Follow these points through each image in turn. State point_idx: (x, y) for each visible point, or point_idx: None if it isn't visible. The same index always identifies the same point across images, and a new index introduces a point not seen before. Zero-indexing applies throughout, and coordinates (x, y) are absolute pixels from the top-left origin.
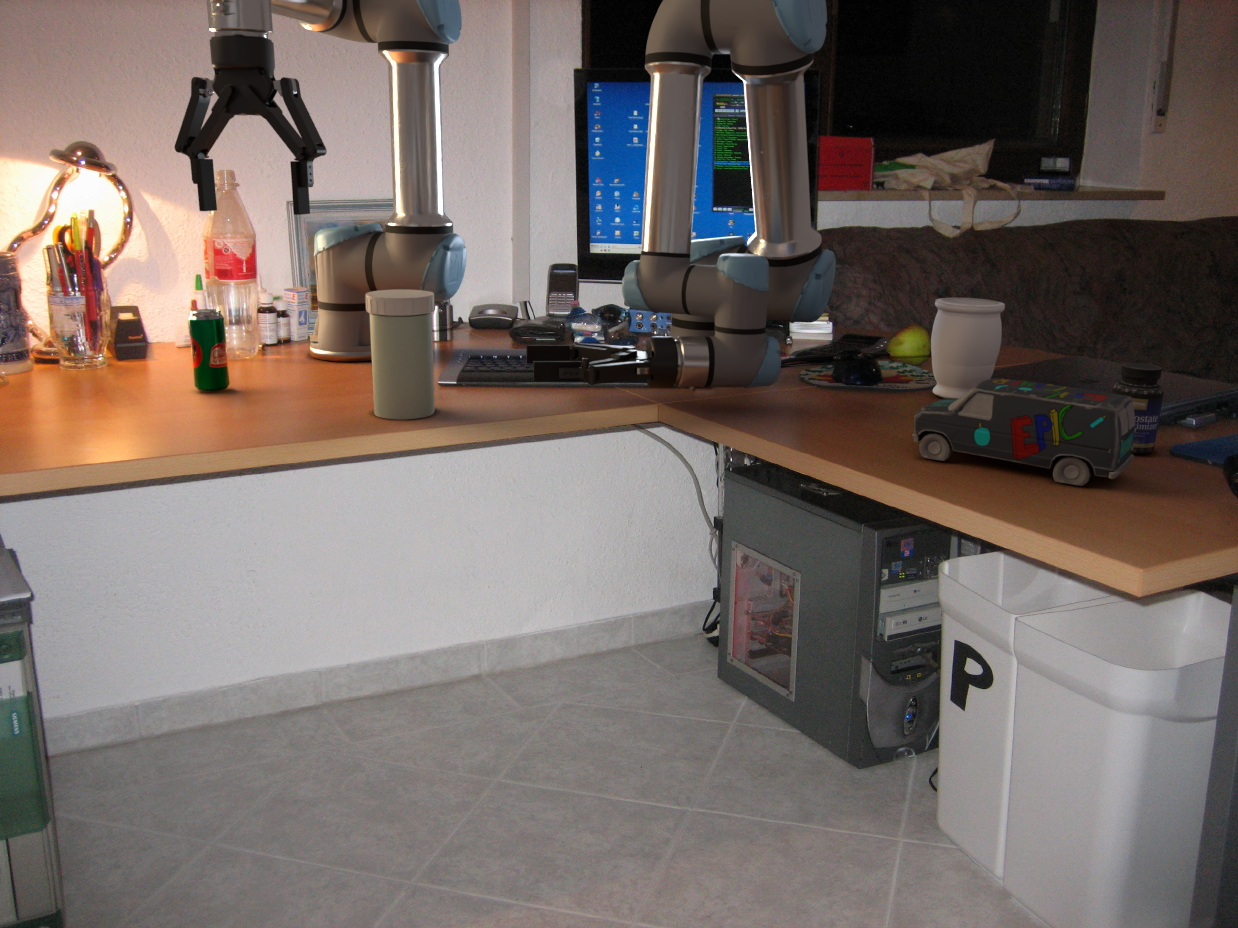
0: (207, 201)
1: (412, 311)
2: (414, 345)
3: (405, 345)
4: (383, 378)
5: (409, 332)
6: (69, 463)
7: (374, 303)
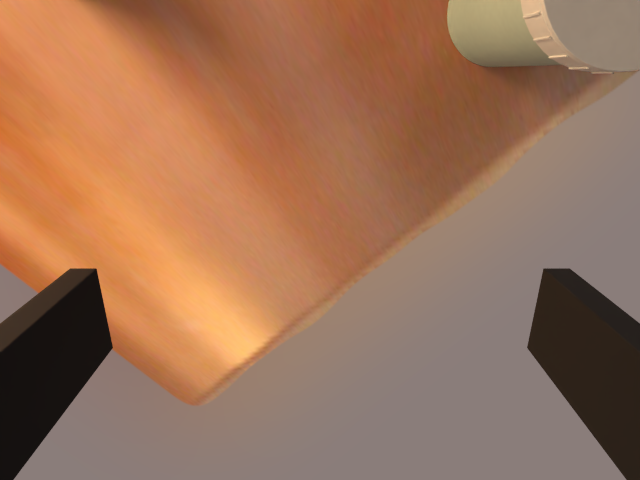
0: (88, 350)
1: None
2: None
3: None
4: (508, 64)
5: None
6: (216, 371)
7: (576, 64)
